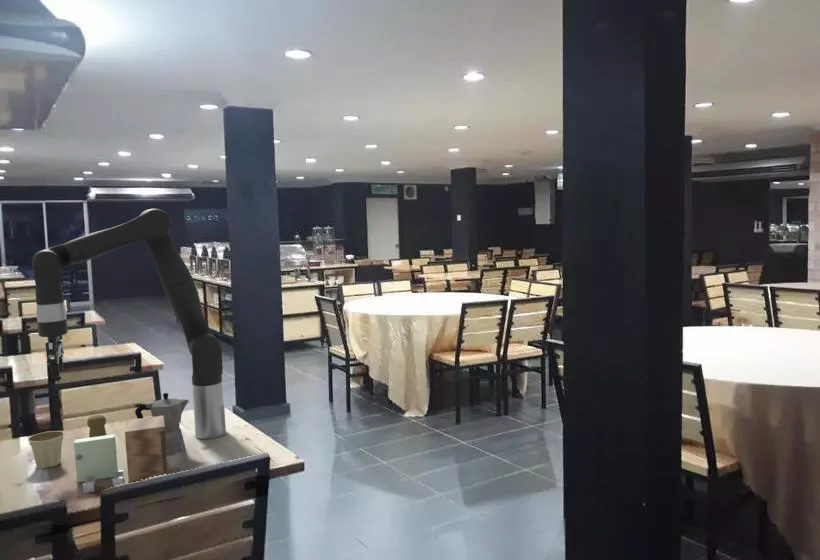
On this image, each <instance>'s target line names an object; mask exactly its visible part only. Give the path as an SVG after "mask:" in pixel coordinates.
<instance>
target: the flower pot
mask: <svg viewBox="0 0 820 560" xmlns="http://www.w3.org/2000/svg"><path fill="white" fill-rule="evenodd" d="M64 436H65V432H64V431H61V430H51V431H44V432H40V433H36V434H32V435H31V436H28V437H27V441H28V442H29V446H30V447H31V451H32V455H33V458H34V461H35V466H36V468H37V469H47V468H53V467H56V466H58V465H59V464H61V460H62V445H63V444H62V443H63V440H64Z"/></svg>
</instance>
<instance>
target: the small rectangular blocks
mask: <svg viewBox="0 0 820 560" xmlns="http://www.w3.org/2000/svg"><path fill="white" fill-rule="evenodd" d="M113 474H114V477H113V478H112V487H113V486H116V485H120V484H123V485H124V479H125V477H124V476H125V475H124V470H123V469H121V470H118V471H114V472H113ZM94 485H96V480H95V475H88V476H85V481H84V482H83V484H82V486H83V487H82V488H83V494H87V493H92V492H93V493H94V492H95V486H94Z"/></svg>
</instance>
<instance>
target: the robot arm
mask: <svg viewBox="0 0 820 560" xmlns="http://www.w3.org/2000/svg"><path fill="white" fill-rule="evenodd" d="M171 228H172V219H171V217H170V214H168V213H167V212H166V211H164V210H162V209H161V208H160V209H159V208H150V209H145V210H144V211H142V212H141V213H140V214H139V215H138V216H137V217H135V218H133V219H131V220H129V221H126V222H125V223H122V224H119V225H116V226H113V227H111V228H110V227H109V228H106V229H102V230H99V231H94V232H91V233H88V234H85V235H83V236H80V237H77V238H74V239H72V240H69V241H67V242H65V243H62V244H57V245H54V246H51V247H48V248H45V249H42V250H39V251H37V252H36V253H35V254H34V256H33V257H32V259H31V260H32V261H31V265H32V270H33V271H32V272H33V278H34V284H35V291H34V293H35V303H36V310H35V311H36V320H37V321H36V323H37V330H38V332H37V333H38V336H39V337H41V338H47V342H46V343H45V345H44V346H45V352H46V353H45V354H46V363H47V365H49V373H50V378H58V377H59V376H60V372H62V371H64V359H63V358H64V354H65V351H64V341H63V336H65V335H67V334H68V333H69V331H68V330H69V328H68V319H67V310H66V305H65V299H64V290H63V285H62V272H61V271H62V269H64V268H67V267H69V266H72V265H75V264H82V263H85V262H87V261H90V260H92V259H93V260H94V259H95V258H98V257H101V256H104V255H105V254H108V253H111V252H113V251H115V250H118V249H120V248H123V247H126V246H129V245H131V244H135V243H140V242H143V241H144V242H145V243H146V246H147V248H148V250H149V251H150V254H151V256H152V258H153V261H154V264H155V265H154V266H155V268H156V271H157V275H158V277H159V279H160V280H159V281H160V282H161V286H162V288H163V291H164V292H165V296H166V298H167V299H168V302H169V303H170V306H171V308H172V310H173V312H174V313H175V315H176V317H177V318H178V321H179V323H180V325H181V327H182V329H183V333H184V337H185V341H186V343H187V348H188V350H189V351H188V352H189V353H190V355H191V361H192V375H191V386H192V387H191V388H192V399H193V400H192V401H193V413H194V416H193V417H194V430H195V431H194V432H195V437H196V439H197V438H198V439H201V440H202V439H203V440H206V439H207V440H208V439H215V438H218V437H219V438H220V437H222V436H226V435H227V429H226V412H225V411H226V410H225V409H226V408H225V405H224V394H223V393H224V390H223V370H224V369H223V368H224V366H223V350H222V344H221V342H220V340H219V339H218V338H217V337H216V336H215V335H214V334H213V333H212V331H211V329H210V327H209V325H208V323H207V320H206V319H205V317H204V313H203V311H202V310H203V309H202V304H201V300H200V295H199V291H198V288H197V285H196V283H195V281H194V279H193V276H192V273H191V272H190V269H188V266H187V265H186V263H185V261H184V260H183V259H182V257H181V255H180V254H179V252H178V250H177V248H176V246H175V243H174V240H173V238H172V235H171Z"/></svg>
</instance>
